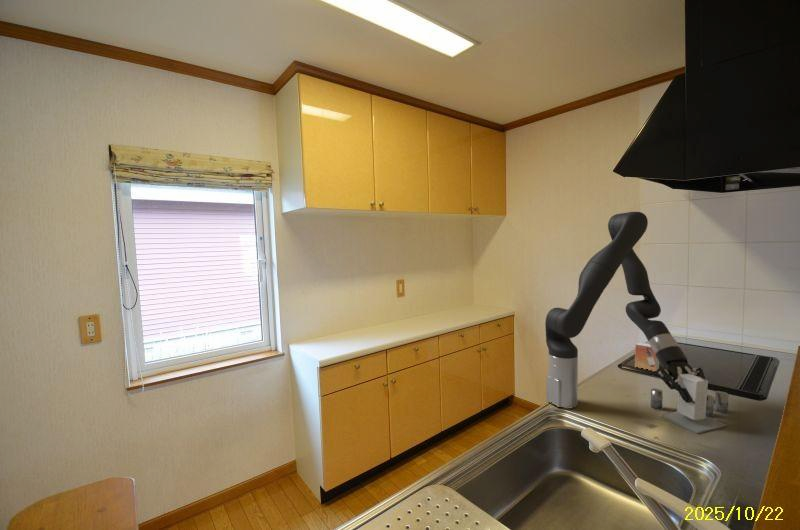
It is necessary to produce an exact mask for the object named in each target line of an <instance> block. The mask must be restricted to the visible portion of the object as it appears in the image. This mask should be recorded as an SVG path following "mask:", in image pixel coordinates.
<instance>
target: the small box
mask: <svg viewBox="0 0 800 530" xmlns="http://www.w3.org/2000/svg"><path fill="white" fill-rule="evenodd" d="M634 350H635V351H634V353H635V354H634V368H636V367H638V369H641V368H643V369H642V370H646V369H648V370H647V371H650V370H652V371H651V372H654V371H656V372H657V371H659V369H660V362H659V361H658V359H657V357H656V355H655V353H654V352H653V350H652V348H651V346H650V343H644V342H640V341H639V342H637V343H636V344H635V349H634Z"/></svg>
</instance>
